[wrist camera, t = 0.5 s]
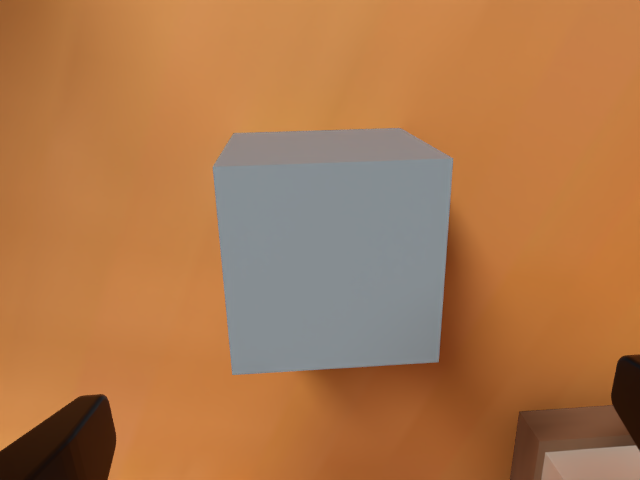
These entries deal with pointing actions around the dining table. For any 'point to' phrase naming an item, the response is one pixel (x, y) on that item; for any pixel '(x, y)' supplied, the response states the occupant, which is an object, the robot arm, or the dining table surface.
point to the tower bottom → (563, 435)
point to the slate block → (332, 248)
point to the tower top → (593, 464)
